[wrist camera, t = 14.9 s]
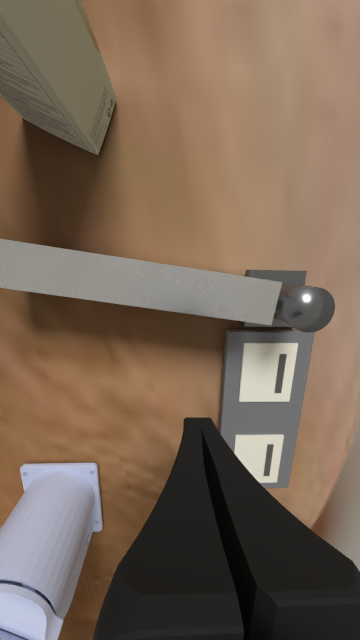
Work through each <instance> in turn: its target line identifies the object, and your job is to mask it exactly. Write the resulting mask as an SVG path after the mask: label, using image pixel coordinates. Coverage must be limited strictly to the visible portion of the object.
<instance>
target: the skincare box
mask: <svg viewBox="0 0 360 640" xmlns="http://www.w3.org/2000/svg"><path fill="white" fill-rule="evenodd" d="M0 96H1V97H2V98H3V99H4V100H5V101H6V102H7V103H8V104H9V105H10V106H11V107H12V108H13V109H14V110H15V111H16V112H17V113H18V114H19V115H20V116H21V117H22V118H23V119H25V120H26V121H28V122H30V123H32V124H34V125H36V126H38V127H40V128H41V129H43V130H45V131H47V132H49V133H51V134H53V135H55V136H57V137H59V138H61V139H63V140H65V141H67V142H69V143H71V144H74V145H76V146H78V147H80V148H82V149H84V150H87V151H89V152H91V153H93V154H95V155H98V154H99V152H100V148H101V146H102V143H103V140H104V137H105V134H106V131H107V128H108V125H109V122H110V119H111V116H112V112H113V109H114V105H115V102H116V95H115V92H114V90H113V87H112V84H111V81H110V78H109V75H108V73H107V70H106V67H105V64H104V61H103V58H102V56H101V53H100V50H99V48H98V45H97V42H96V39H95V36H94V34H93V31H92V28H91V25H90V22H89V20H88V17H87V14H86V11H85V8H84V6H83V3H82V0H0Z"/></svg>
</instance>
